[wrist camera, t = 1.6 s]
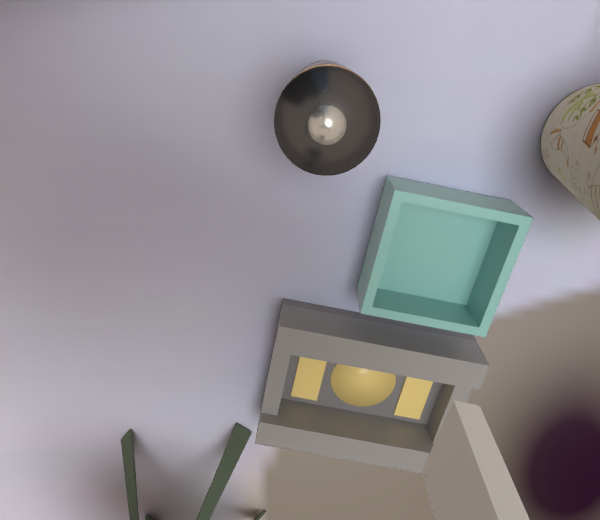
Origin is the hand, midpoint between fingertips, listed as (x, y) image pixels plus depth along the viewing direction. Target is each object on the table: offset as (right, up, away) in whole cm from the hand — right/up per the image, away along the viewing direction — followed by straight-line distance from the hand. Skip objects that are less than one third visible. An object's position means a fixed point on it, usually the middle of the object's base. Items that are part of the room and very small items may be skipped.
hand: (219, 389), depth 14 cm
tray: (+11, +5, +19) cm, 23 cm away
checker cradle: (+7, -5, +23) cm, 25 cm away
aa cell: (+4, +14, +16) cm, 21 cm away
